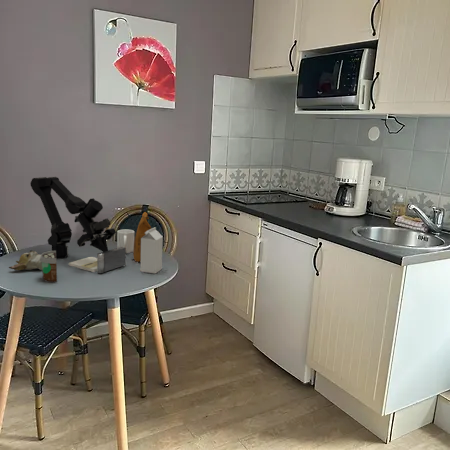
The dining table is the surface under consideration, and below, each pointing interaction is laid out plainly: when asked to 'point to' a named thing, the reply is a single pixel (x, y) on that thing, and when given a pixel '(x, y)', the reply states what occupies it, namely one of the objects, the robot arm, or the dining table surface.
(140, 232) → the coffee package
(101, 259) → the swing panel
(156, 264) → the milk carton
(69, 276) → the dining table surface
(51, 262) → the food container
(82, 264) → the label board
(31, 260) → the ceramic sculpture
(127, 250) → the mug
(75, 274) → the dining table surface
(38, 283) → the dining table surface
